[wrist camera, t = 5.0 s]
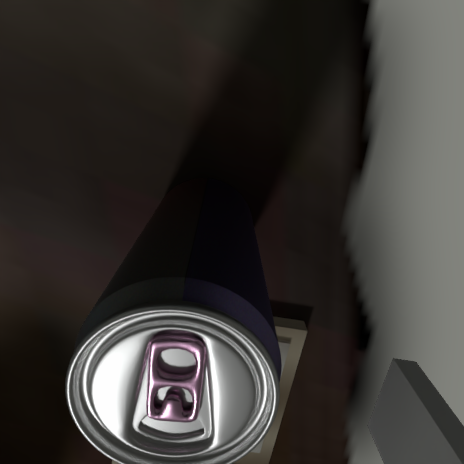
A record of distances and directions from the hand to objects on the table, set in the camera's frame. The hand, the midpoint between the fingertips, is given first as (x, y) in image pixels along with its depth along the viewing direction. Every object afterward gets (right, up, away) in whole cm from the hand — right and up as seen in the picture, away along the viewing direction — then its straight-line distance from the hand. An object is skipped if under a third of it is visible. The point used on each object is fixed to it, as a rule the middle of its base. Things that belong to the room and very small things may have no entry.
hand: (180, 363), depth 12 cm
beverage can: (0, +5, +12) cm, 13 cm away
